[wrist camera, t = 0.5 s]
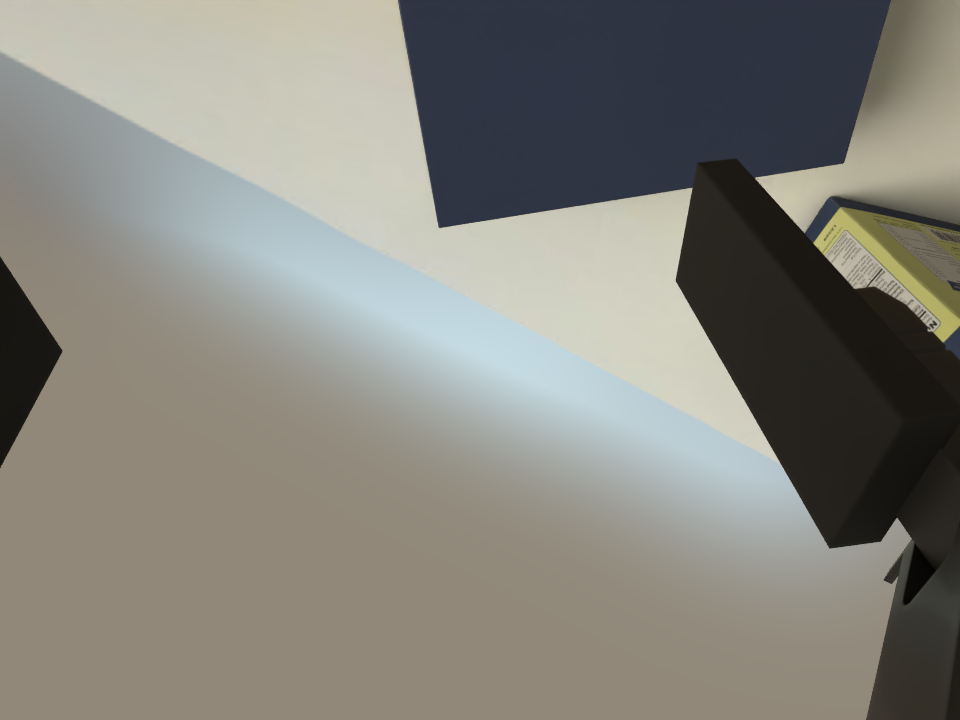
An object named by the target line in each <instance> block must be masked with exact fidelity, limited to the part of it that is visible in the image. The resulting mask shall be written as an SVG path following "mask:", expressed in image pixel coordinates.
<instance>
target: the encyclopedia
mask: <svg viewBox="0 0 960 720" xmlns="http://www.w3.org/2000/svg"><path fill="white" fill-rule="evenodd" d="M890 2H891V0H398V3H399V9H400V14H401V20H402V25H403V31H404V37H405V42H406V48H407V53H408V59H409V65H410V70H411V76H412V81H413V87H414V93H415V98H416V104H417V109H418V115H419V121H420V126H421V132H422V137H423V143H424V148H425V154H426V160H427V165H428V171H429V176H430V182H431V188H432V193H433V199H434V204H435V210H436V216H437V221H438V227H439V228H442V227H449V226H455V225H461V224H467V223H474V222H480V221H486V220H492V219H499V218H505V217H511V216H517V215H524V214H530V213H536V212H542V211H549V210H555V209H561V208H568V207H574V206H580V205H586V204H593V203H599V202H605V201H611V200H618V199H624V198H630V197H636V196H643V195H649V194H655V193H661V192H668V191H674V190H680V189H686V188H693V184H694V178H695V173H696V167H697V163H699V162H708V161H718V160H727V159H737V160H738V161H739V162H740V163H741V164H742V165H743V166H744V167H745V168H746V169H747V171H748V172H749V173H750V174H751V175H752V176H753V177H754V178H755V177H762V176H768V175H774V174H780V173H787V172H793V171H799V170H805V169H812V168H818V167H824V166H830V165H837V164H843V163H844V161H845V158H846V154H847V151H848V147H849V144H850V140H851V137H852V133H853V130H854V127H855V123H856V120H857V116H858V113H859V109H860V106H861V102H862V99H863V95H864V92H865V88H866V85H867V81H868V78H869V74H870V71H871V68H872V64H873V61H874V57H875V54H876V50H877V47H878V43H879V40H880V36H881V33H882V29H883V26H884V22H885V19H886V16H887V12H888V9H889V5H890Z"/></svg>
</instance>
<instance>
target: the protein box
mask: <svg viewBox="0 0 960 720" xmlns="http://www.w3.org/2000/svg"><path fill="white" fill-rule="evenodd" d="M805 235H806V236H807V237H808V238H809V239H810V240H811V241H812V242H813V243H814V245H815V246H816V247H817V248H818V249H819V250H820V251H821V252H822V253H823V254H824V256H825V257H826V258H827V259H828V260H829V261H830V262H831V263H832V264H833V266H834V267H835V268H836V269H837V270H838V271H839V272H840V273H841V274H842V275H843V277H844V278H845V279H846V280H847V281H848V282H849V283H850V284H851V285H852V287H853V288H854V289H857V288H865V287H874V286H875V287H877V288H878V289H880V290H882V291H884V292H885V293H887V294H889V295H891V296H892V297H894V298H896V299H898V300H899V301H901V302H903V303H904V304H906V305H907V306H908V307H909V308H910V309H911V310H912V311H913V312H914V313H915V314H916V315H917V316H918V317H919V318H920V319H921V320H922V321H923V322H924V323H925V324H926V325H927V326H928V328H927V329H928V332H930V331H932V332H933V333H934V334H935V335H936V336H937V337H938V338H939V339H940V340H941V341H942V342H943V343H944V344H945V345H946V346H945V348H946V350H951V351H952V352H953V353H954V354H955V355H956V356H957V357H958V358H959V359H960V225H956V224H951V223H947V222H943V221H938V220H934V219H930V218H925V217H921V216H916V215H912V214H908V213H903V212H899V211H895V210H890V209H886V208H882V207H877V206H873V205H869V204H864V203H860V202H855V201H851V200H847V199H842V198H837V197H829V198H828V200H827V201H826V202H825V204H824V205H823V207H822V208H821V210H820V211H819V213H818V214H817V216H816V217H815V219H814V220H813V222H812V223H811V225H810V226H809V228H808V229H807V231H806V232H805Z"/></svg>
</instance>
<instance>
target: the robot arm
mask: <svg viewBox="0 0 960 720" xmlns="http://www.w3.org/2000/svg"><path fill="white" fill-rule="evenodd" d="M676 282H677V284H678V286H679V287H680V289H681V291H682V293H683V294H684V296H685V298H686V300H687V301H688V303H689V305H690V307H691V308H692V310H693V312H694V313H695V315H696V317H697V319H698V320H699V322H700V324H701V326H702V327H703V329H704V331H705V333H706V334H707V336H708V338H709V340H710V341H711V343H712V345H713V347H714V348H715V350H716V352H717V354H718V355H719V357H720V359H721V360H722V362H723V364H724V366H725V367H726V369H727V371H728V373H729V374H730V376H731V378H732V380H733V381H734V383H735V385H736V387H737V388H738V390H739V392H740V394H741V395H742V397H743V399H744V400H745V402H746V404H747V406H748V407H749V409H750V411H751V413H752V414H753V416H754V418H755V420H756V421H757V423H758V425H759V427H760V428H761V430H762V432H763V434H764V435H765V437H766V439H767V440H768V442H769V444H770V446H771V447H772V449H773V451H774V453H775V454H776V456H777V458H778V460H779V461H780V463H781V465H782V467H783V468H784V470H785V472H786V474H787V475H788V477H789V479H790V480H791V482H792V484H793V486H794V487H795V489H796V491H797V493H798V494H799V496H800V498H801V499H802V501H803V503H804V505H805V506H806V508H807V510H808V512H809V513H810V515H811V517H812V519H813V520H814V522H815V524H816V526H817V527H818V529H819V531H820V533H821V534H822V536H823V538H824V540H825V541H826V543H827V545H828V546H829V548H837V547H844V546H852V545H859V544H866V543H873V542H881V540H882V539H883V537H884V536H885V534H886V533H887V531H888V530H889V528H890V527H891V525H892V524H893V522H894V521H895V519H896V518H898V519H899V521H900V522H901V523H902V525H903V526H904V528H905V529H906V531H907V532H908V534H909V535H910V537H911V538H912V540H911V541H910V542H909V544H908V545H907V547H906V548H905V549H904V551H903V552H902V553H901V555H900V556H899V558H898V559H897V560H896V562H895V563H894V564H893V566H892V567H891V569H890V570H889V572H888V573H887V576H886V577H885V579H884V581H886V582H889V583H891V584H892V583H893V582H894V581H895V579H896V578H897V577H898V580H897V584H896V589H895V593H894V598H893V602H892V607H891V611H890V616H889V620H888V625H887V629H886V634H885V638H884V643H883V647H882V652H881V656H880V661H879V665H878V669H877V674H876V679H875V683H874V688H873V692H872V696H871V701H870V706H869V710H868V714H867V719H866V720H960V359H959V358H958V357H957V356H956V355H955V354H954V353H953V352H952V351H951V350H946V348H945V346H946V345H945V344H944V343H943V342H942V341H941V340H940V339H939V338H938V337H937V336H936V335H935V334H934V333H933V332H932V331H930V332H928V329H927V328H928V326H927V325H926V324H925V323H924V322H923V321H922V320H921V319H920V318H919V317H918V316H917V315H916V314H915V313H914V312H913V311H912V310H911V309H910V308H909V307H908V306H907V305H906V304H904V303H903V302H901V301H899V300H898V299H896V298H894V297H892V296H891V295H889V294H887V293H885V292H884V291H882V290H880V289H878V288H877V287H875V286H874V287H865V288H857V289H854V288H853V287H852V285H851V284H850V283H849V282H848V281H847V280H846V279H845V278H844V277H843V275H842V274H841V273H840V272H839V271H838V270H837V269H836V268H835V267H834V266H833V264H832V263H831V262H830V261H829V260H828V259H827V258H826V257H825V256H824V254H823V253H822V252H821V251H820V250H819V249H818V248H817V247H816V246H815V245H814V243H813V242H812V241H811V240H810V239H809V238H808V237H807V236H806V235H805V234H804V232H803V231H802V230H801V229H800V228H799V227H798V226H797V225H796V224H795V222H794V221H793V220H792V219H791V218H790V217H789V216H788V215H787V214H786V213H785V211H784V210H783V209H782V208H781V207H780V206H779V205H778V204H777V203H776V202H775V200H774V199H773V198H772V197H771V196H770V195H769V194H768V193H767V192H766V190H765V189H764V188H763V187H762V186H761V185H760V184H759V183H758V182H757V181H756V179H755V178H754V177H753V176H752V175H751V174H750V173H749V172H748V171H747V169H746V168H745V167H744V166H743V165H742V164H741V163H740V162H739V161H738V160H737V159H727V160H718V161H708V162H699V163H697V167H696V173H695V178H694V184H693V189H692V195H691V200H690V205H689V211H688V216H687V222H686V227H685V233H684V238H683V244H682V249H681V254H680V260H679V265H678V271H677V276H676ZM61 353H62V349H61V348H60V346H59V345H58V343H57V342H56V340H55V339H54V337H53V336H52V334H51V333H50V332H49V330H48V328H47V327H46V325H45V324H44V322H43V321H42V319H41V318H40V316H39V315H38V313H37V312H36V310H35V309H34V307H33V305H32V304H31V302H30V301H29V299H28V298H27V296H26V295H25V293H24V292H23V290H22V289H21V287H20V286H19V284H18V283H17V281H16V280H15V278H14V277H13V275H12V274H11V272H10V271H9V269H8V268H7V266H6V265H5V263H4V262H3V260H2V259H1V257H0V467H1V465H2V464H3V462H4V460H5V458H6V456H7V454H8V452H9V450H10V448H11V447H12V445H13V443H14V441H15V439H16V437H17V435H18V434H19V432H20V430H21V428H22V426H23V424H24V422H25V421H26V419H27V417H28V415H29V413H30V411H31V409H32V407H33V406H34V404H35V402H36V400H37V398H38V396H39V394H40V392H41V390H42V389H43V387H44V385H45V383H46V381H47V379H48V378H49V376H50V374H51V372H52V370H53V368H54V366H55V364H56V363H57V361H58V359H59V357H60V355H61Z"/></svg>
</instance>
